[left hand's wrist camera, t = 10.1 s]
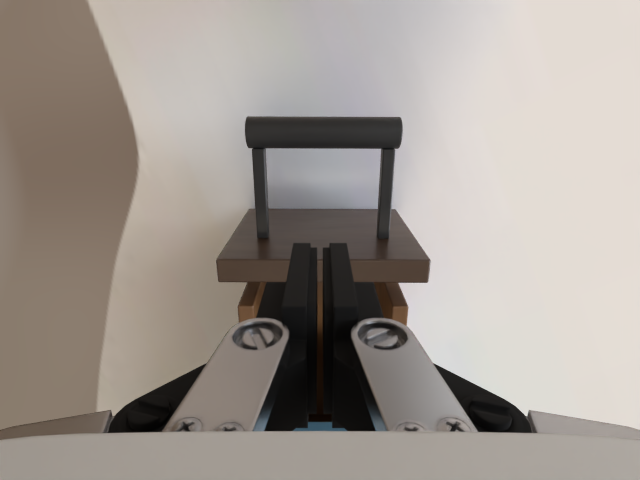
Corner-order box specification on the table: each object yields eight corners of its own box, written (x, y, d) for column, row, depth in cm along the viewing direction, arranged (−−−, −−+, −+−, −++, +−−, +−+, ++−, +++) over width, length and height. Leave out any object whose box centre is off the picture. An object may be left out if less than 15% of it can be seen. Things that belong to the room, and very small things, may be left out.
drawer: (242, 112, 24) (201, 119, 15) (402, 113, 24) (447, 120, 15) (261, 411, 32) (241, 519, 24) (380, 411, 32) (401, 520, 24)
